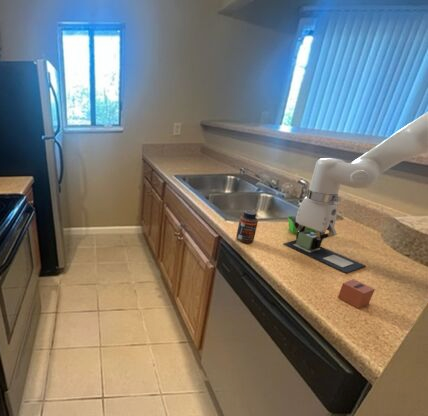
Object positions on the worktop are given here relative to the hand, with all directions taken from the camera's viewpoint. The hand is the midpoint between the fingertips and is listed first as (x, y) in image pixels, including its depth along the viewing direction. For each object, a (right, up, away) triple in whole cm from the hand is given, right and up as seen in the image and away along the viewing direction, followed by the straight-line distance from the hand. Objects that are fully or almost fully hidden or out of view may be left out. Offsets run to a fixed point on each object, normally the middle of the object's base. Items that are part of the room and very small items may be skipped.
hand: (306, 244), depth 97 cm
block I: (-7, -11, -25) cm, 29 cm away
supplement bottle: (-19, +1, +7) cm, 20 cm away
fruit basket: (+8, +3, +12) cm, 15 cm away
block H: (0, 0, 0) cm, 0 cm away
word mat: (+2, -3, -4) cm, 5 cm away
